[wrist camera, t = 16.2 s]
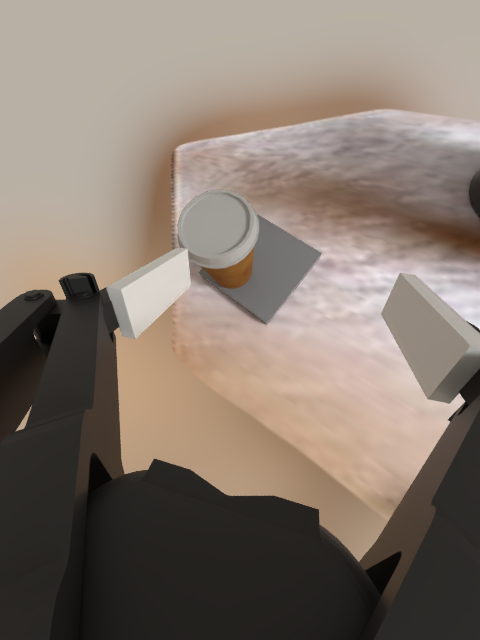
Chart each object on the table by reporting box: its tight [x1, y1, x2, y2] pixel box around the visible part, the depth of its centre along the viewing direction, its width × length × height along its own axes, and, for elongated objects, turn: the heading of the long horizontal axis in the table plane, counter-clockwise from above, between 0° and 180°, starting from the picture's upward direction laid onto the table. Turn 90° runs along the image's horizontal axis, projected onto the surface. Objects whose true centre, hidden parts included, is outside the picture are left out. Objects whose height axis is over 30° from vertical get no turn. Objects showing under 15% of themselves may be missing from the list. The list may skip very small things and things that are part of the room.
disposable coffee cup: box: [178, 189, 259, 289], centre depth 30 cm, size 10×10×12 cm
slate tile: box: [199, 214, 322, 325], centre depth 36 cm, size 14×14×2 cm
